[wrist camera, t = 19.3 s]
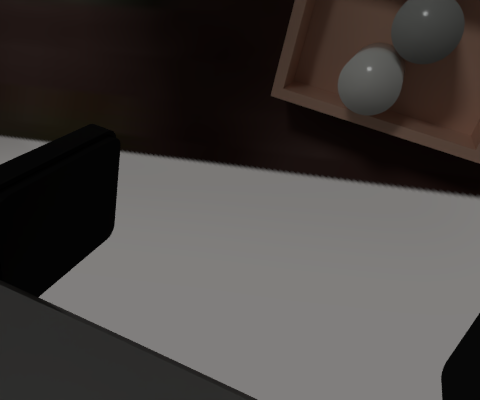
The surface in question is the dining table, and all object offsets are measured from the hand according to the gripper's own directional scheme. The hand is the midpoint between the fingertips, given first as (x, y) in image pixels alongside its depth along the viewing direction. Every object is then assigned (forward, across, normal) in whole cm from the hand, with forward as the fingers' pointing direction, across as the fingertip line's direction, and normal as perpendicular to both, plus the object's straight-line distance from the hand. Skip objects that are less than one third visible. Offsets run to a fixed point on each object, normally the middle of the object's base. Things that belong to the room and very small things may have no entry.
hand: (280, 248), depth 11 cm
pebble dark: (+27, -2, -4) cm, 27 cm away
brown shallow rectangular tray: (+27, -2, -2) cm, 28 cm away
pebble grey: (+27, 0, 0) cm, 27 cm away
